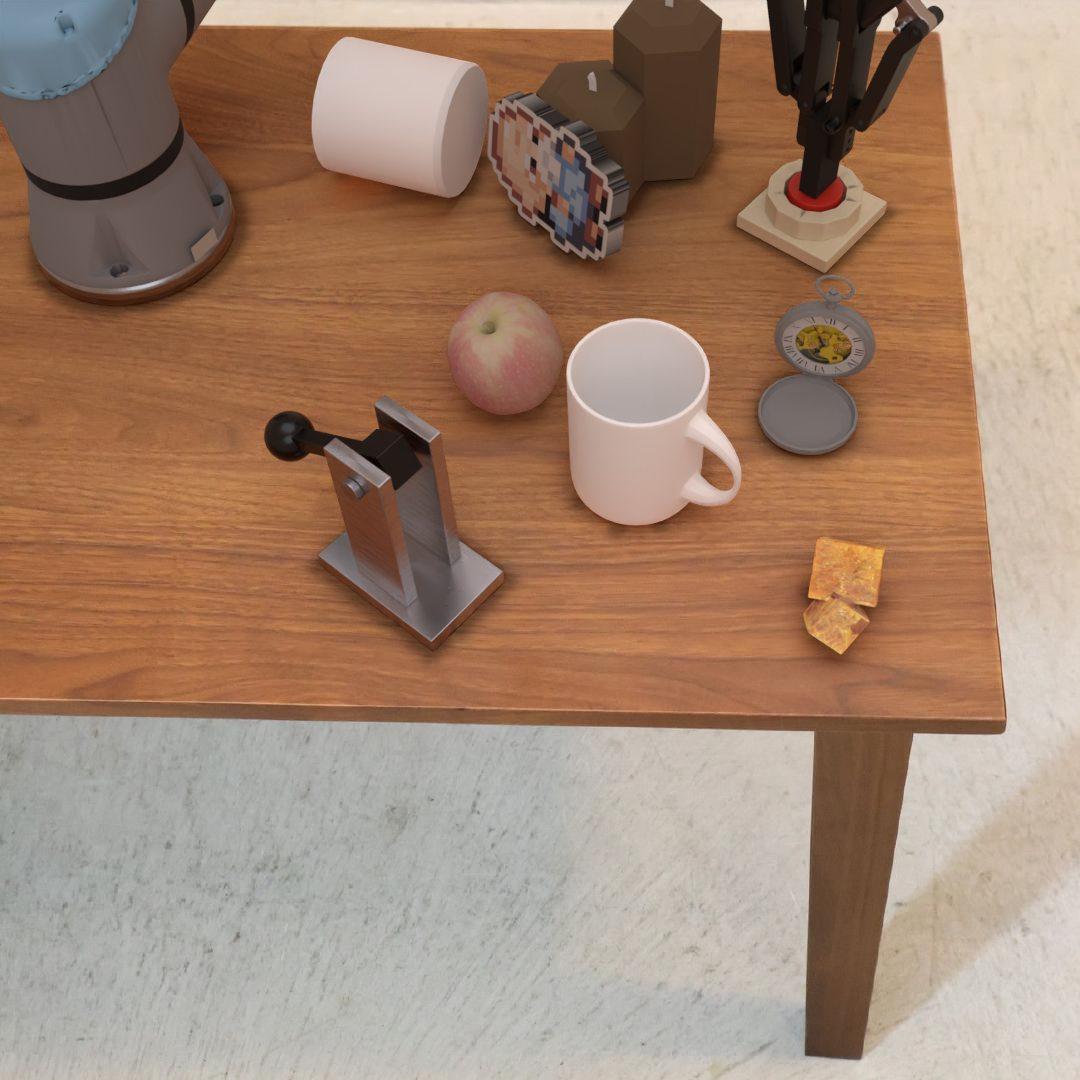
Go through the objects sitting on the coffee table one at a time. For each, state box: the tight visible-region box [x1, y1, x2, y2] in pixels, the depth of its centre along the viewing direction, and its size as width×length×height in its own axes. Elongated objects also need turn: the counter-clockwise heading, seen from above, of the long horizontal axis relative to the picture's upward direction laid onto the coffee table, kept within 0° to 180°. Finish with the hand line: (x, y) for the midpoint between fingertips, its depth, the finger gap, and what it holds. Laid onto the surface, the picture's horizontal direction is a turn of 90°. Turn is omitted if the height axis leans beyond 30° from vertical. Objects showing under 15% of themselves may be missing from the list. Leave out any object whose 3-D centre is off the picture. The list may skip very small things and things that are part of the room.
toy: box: [487, 90, 629, 262], centre depth 102 cm, size 14×2×10 cm, turn 39°
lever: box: [263, 410, 423, 490], centre depth 83 cm, size 14×3×3 cm, turn 49°
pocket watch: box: [757, 274, 877, 456], centre depth 91 cm, size 8×8×10 cm
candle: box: [535, 0, 723, 207], centre depth 104 cm, size 14×14×15 cm
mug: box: [565, 317, 743, 526], centre depth 87 cm, size 9×12×11 cm
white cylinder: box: [311, 36, 490, 199], centre depth 107 cm, size 13×10×10 cm
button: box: [787, 172, 843, 212], centre depth 103 cm, size 4×4×2 cm
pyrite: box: [802, 535, 888, 655], centre depth 84 cm, size 5×7×4 cm
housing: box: [735, 157, 888, 274], centre depth 104 cm, size 8×8×3 cm
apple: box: [446, 291, 565, 416], centre depth 94 cm, size 8×8×8 cm
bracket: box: [317, 394, 505, 652], centre depth 83 cm, size 10×7×14 cm, turn 49°
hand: (817, 184), depth 102 cm, fingers closed
